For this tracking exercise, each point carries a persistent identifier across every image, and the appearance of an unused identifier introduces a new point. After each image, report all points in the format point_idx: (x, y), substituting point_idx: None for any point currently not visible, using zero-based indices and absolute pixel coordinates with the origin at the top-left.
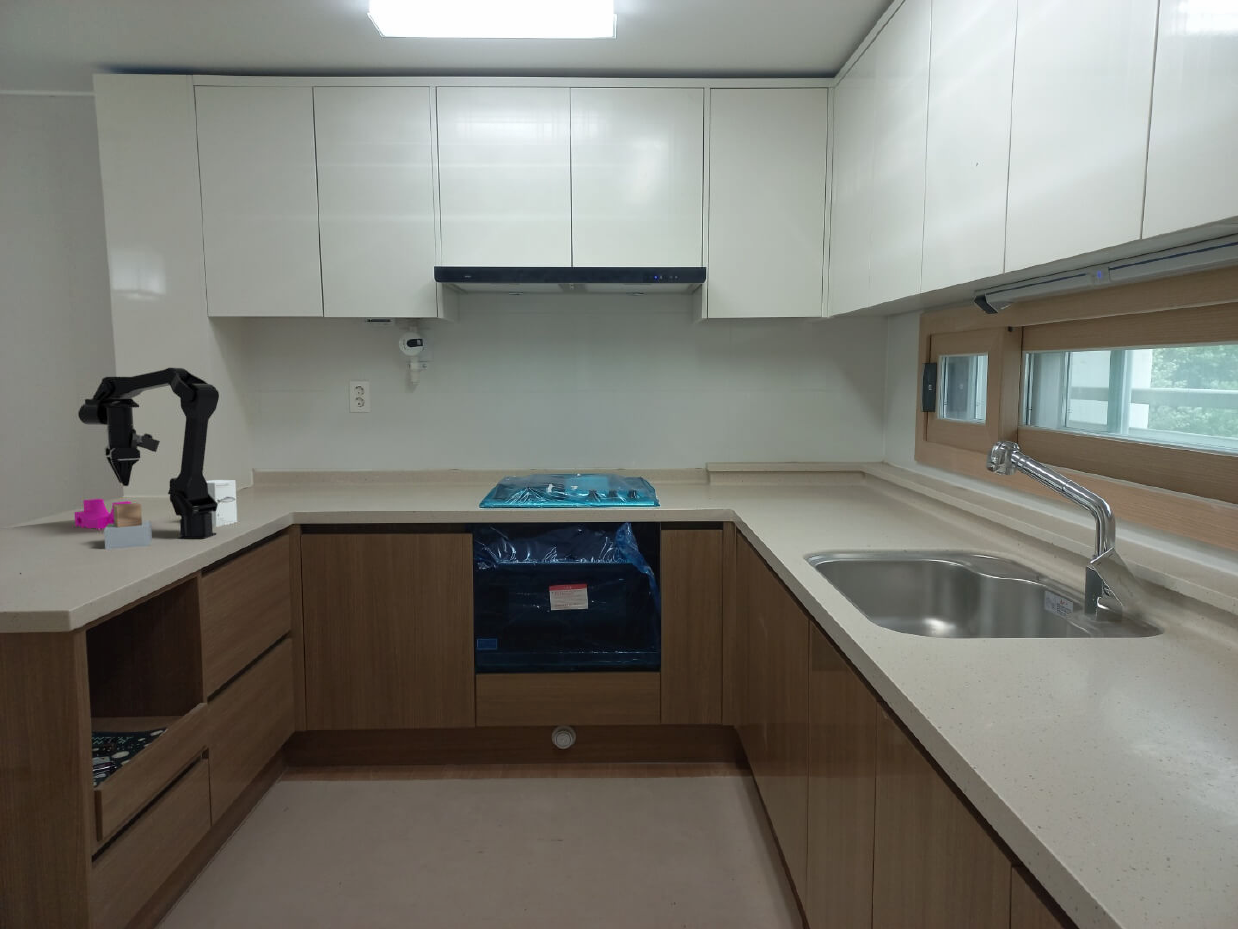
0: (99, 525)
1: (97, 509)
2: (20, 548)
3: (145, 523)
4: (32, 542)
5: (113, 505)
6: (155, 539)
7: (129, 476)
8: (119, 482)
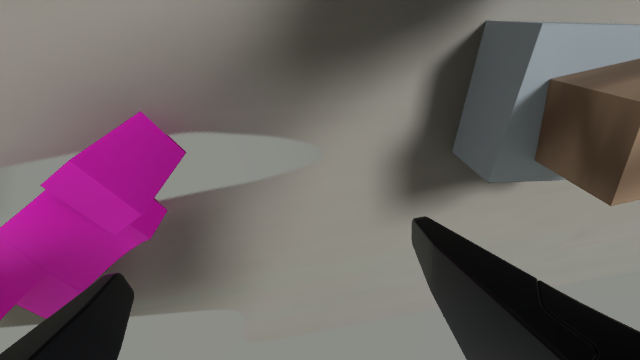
0: (157, 217)
1: (15, 269)
2: (396, 305)
3: (602, 45)
4: (323, 304)
5: (617, 202)
6: (496, 6)
7: (502, 264)
8: (131, 298)
